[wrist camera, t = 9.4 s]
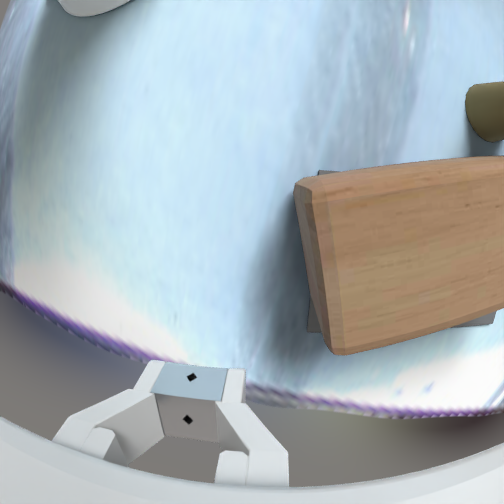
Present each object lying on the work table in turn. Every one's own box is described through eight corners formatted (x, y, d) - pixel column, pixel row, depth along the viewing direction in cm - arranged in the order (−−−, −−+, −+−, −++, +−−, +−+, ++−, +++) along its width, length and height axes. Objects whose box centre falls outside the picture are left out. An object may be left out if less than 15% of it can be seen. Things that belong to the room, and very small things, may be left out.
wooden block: (289, 179, 23) (488, 155, 21) (309, 298, 26) (494, 255, 24) (303, 183, 14) (561, 157, 12) (328, 365, 16) (559, 288, 14)
